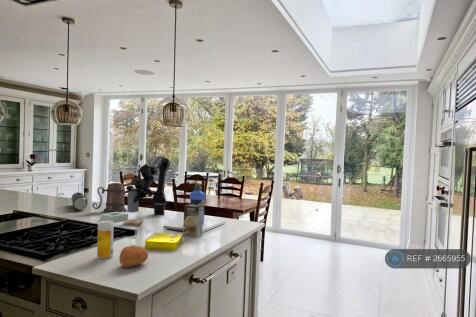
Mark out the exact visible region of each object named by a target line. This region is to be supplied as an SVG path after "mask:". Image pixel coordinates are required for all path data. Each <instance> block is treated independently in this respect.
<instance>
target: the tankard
mask: <svg viewBox="0 0 476 317" xmlns="http://www.w3.org/2000/svg"><path fill="white" fill-rule="evenodd" d="M107 184H108V185H107V187H106V189H105V188H104V187H103V186H99V187H98V188H97V189H96V190H97V194H98V195H99V199H100V200H99V204H98V203H96V202H93V203H92V208H93V209H94V210H98V209H100V208H101V206H102V203H103V199H102V198H103V197H102V195H103V194H105V192H106V200H105V208H104V209H103V211H102V214H106V213H112V212H121V213H128V212H127V208H126V207H125V205H126V202H125V187H124V183H119V182H111V183H107ZM100 189H101V190H102V192H100ZM101 194H102V195H101Z"/></svg>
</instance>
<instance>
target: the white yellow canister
mask: <svg viewBox="0 0 476 317" xmlns="http://www.w3.org/2000/svg"><path fill="white" fill-rule="evenodd" d="M114 223H115V222H113V221H111V220H103V221H102V220H100V221H98V223H97V250H96V254H97V255H96V257H98V259H99V260H108V259H112V257H113V255H114V232H115V231H114V227H115V226H114Z"/></svg>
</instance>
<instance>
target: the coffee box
mask: <svg viewBox="0 0 476 317" xmlns="http://www.w3.org/2000/svg"><path fill="white" fill-rule="evenodd" d="M203 225H204V224H203V205H194V204H191V203H189V204H185V205H183V224H182V226H183V227H182V229H183V230H182V236H188V237H194V238H195V237H196V238H199V237H200V236H203Z"/></svg>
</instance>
